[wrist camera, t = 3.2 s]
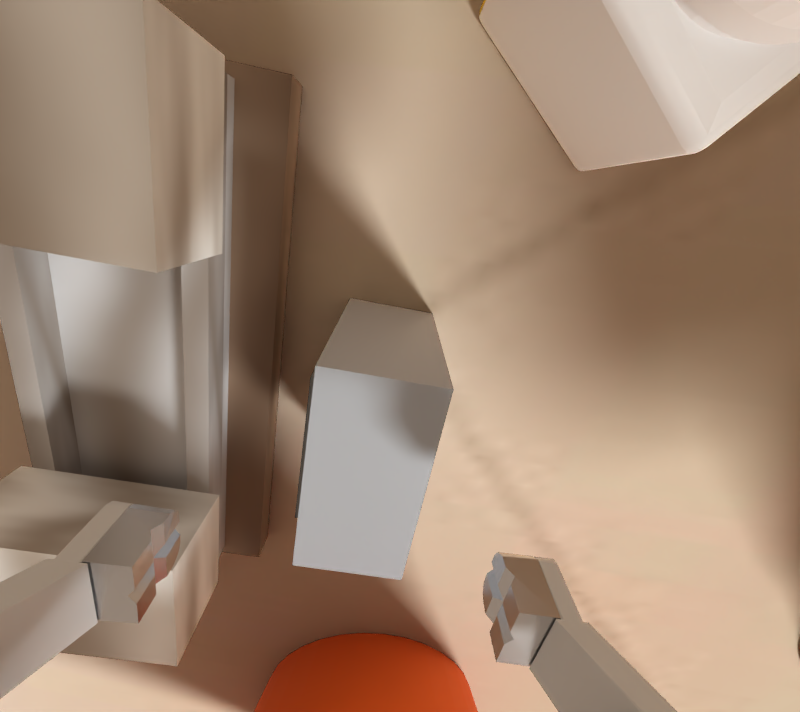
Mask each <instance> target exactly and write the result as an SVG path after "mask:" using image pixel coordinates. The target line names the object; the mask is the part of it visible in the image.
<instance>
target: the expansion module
mask: <svg viewBox="0 0 800 712" xmlns="http://www.w3.org/2000/svg"><path fill="white" fill-rule="evenodd" d="M453 390H454V389H453V386H452V382H451V379H450V375H449V371H448V368H447V364H446V361H445V357H444V353H443V350H442V346H441V342H440V339H439V335H438V332H437V328H436V324H435V321H434V317H433V314H432V313H427V312H422V311H417V310H411V309H406V308H401V307H395V306H390V305H385V304H379V303H374V302H368V301H363V300H358V299H352V298H350V300H349V302H348V304H347V306H346V307H345V309H344V311H343V313H342V315H341V317H340V319H339V321H338V323H337V325H336V327H335V329H334V331H333V333H332V335H331V336H330V338H329V340H328V342H327V344H326V346H325V348H324V350H323V352H322V354H321V356H320V358H319V360H318V362H317V363H316V365H315V369H314V371H313V373H312V375H311V378H310V387H309V396H308V405H307V414H306V423H305V432H304V441H303V450H302V459H301V468H300V477H299V486H298V495H297V503H296V512H295V518H298V521H297V529H296V538H295V547H294V555H293V564H292V565H294V566H301V567H308V568H316V569H323V570H330V571H338V572H345V573H353V574H360V575H367V576H375V577H382V578H389V579H397V580H402V576H403V572H404V569H405V565H406V561H407V558H408V554H409V550H410V547H411V543H412V540H413V536H414V532H415V529H416V525H417V521H418V518H419V514H420V510H421V507H422V503H423V499H424V496H425V492H426V488H427V485H428V481H429V477H430V474H431V470H432V466H433V463H434V459H435V455H436V452H437V448H438V444H439V441H440V437H441V433H442V430H443V426H444V422H445V419H446V415H447V411H448V408H449V404H450V400H451V397H452V393H453Z"/></svg>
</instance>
